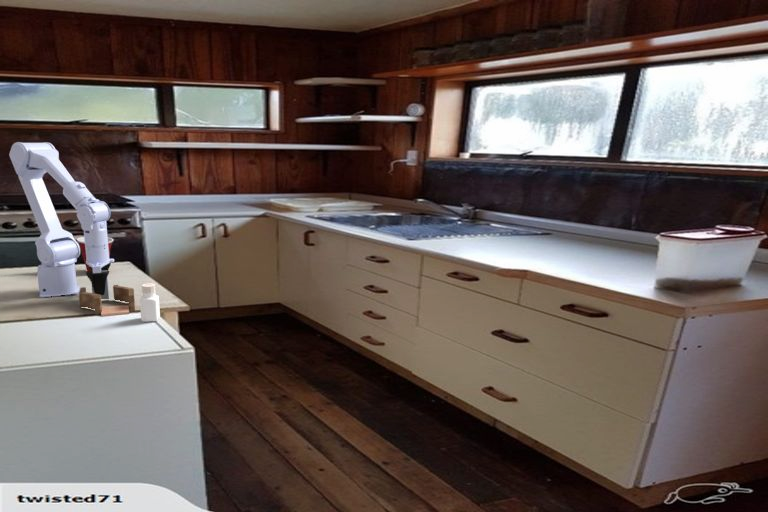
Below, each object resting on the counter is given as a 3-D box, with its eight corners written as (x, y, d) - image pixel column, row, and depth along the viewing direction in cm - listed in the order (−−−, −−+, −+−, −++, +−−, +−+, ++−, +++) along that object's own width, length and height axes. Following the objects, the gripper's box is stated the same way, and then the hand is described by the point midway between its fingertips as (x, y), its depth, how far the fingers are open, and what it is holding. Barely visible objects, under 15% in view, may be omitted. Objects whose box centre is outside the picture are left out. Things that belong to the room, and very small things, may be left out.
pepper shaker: (157, 322, 133) (155, 287, 131) (140, 322, 132) (138, 287, 130) (160, 316, 137) (158, 282, 135) (144, 317, 136) (142, 282, 134)
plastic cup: (109, 277, 170) (106, 241, 167) (74, 277, 169) (70, 241, 166) (121, 268, 181) (118, 235, 178) (88, 268, 179) (84, 234, 176)
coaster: (101, 316, 135) (101, 314, 135) (102, 309, 140) (102, 307, 140) (129, 313, 138) (128, 311, 138) (129, 306, 143) (129, 304, 143)
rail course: (78, 316, 135) (76, 300, 134) (82, 302, 145) (80, 287, 144) (134, 310, 140) (133, 295, 139) (134, 298, 150) (133, 283, 149)
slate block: (93, 302, 146) (90, 275, 144) (94, 297, 149) (91, 271, 148) (109, 300, 148) (106, 273, 146) (109, 296, 151) (107, 270, 149)
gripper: (111, 249, 140) (115, 297, 143) (113, 239, 153) (117, 283, 156) (81, 251, 137) (86, 299, 140) (86, 240, 150) (90, 285, 153)
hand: (100, 291), depth 148 cm, fingers open, 7 cm apart
